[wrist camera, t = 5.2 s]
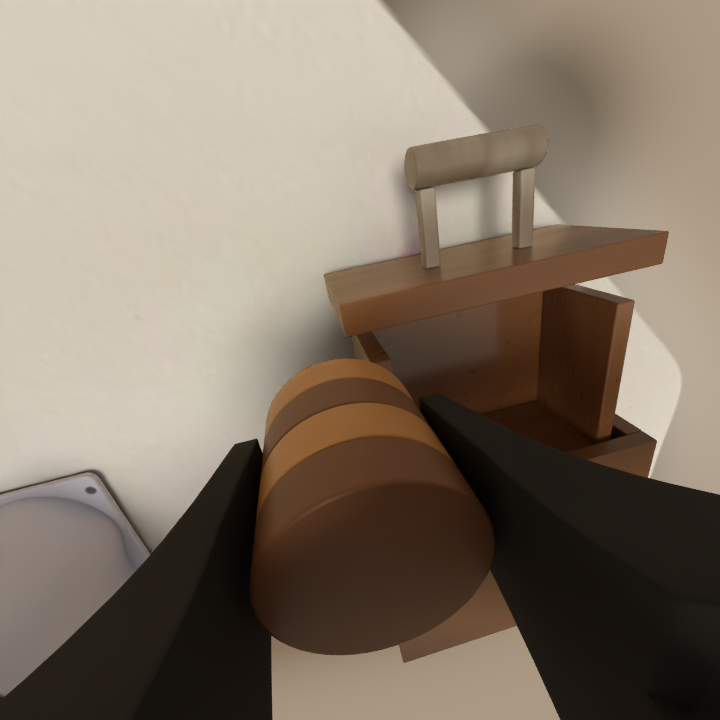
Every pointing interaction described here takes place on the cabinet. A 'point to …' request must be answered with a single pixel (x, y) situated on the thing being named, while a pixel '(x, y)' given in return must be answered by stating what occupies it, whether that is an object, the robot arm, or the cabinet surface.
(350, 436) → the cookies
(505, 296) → the drawer
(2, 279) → the cabinet surface
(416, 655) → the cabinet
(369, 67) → the cabinet surface
